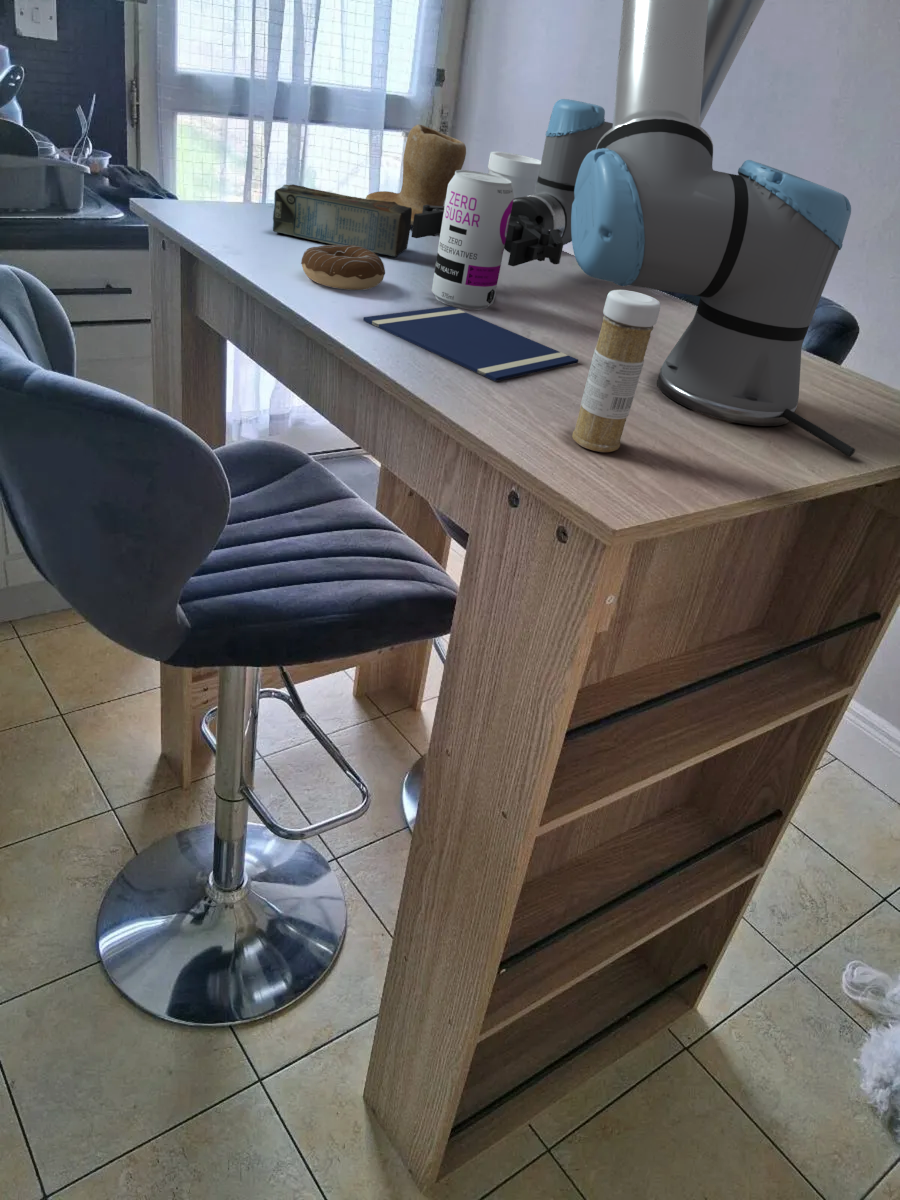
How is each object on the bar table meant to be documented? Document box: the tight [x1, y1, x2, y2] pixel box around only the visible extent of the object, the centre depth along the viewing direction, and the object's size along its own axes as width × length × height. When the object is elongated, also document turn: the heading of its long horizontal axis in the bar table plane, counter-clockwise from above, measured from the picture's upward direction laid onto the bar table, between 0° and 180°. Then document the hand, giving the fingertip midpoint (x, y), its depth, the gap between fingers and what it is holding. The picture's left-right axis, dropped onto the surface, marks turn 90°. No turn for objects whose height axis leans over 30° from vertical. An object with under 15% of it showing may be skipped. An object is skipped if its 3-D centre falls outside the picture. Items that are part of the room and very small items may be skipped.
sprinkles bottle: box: [571, 289, 661, 453], centre depth 79 cm, size 5×5×13 cm
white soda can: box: [431, 169, 514, 311], centre depth 113 cm, size 8×8×15 cm
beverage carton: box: [272, 183, 412, 258], centre depth 132 cm, size 8×19×7 cm, turn 81°
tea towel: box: [362, 305, 579, 382], centre depth 102 cm, size 20×15×1 cm
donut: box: [300, 244, 386, 291], centre depth 113 cm, size 11×11×4 cm
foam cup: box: [487, 151, 542, 198], centre depth 152 cm, size 10×9×13 cm
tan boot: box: [365, 124, 467, 226], centre depth 151 cm, size 15×12×15 cm
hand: (463, 240), depth 110 cm, fingers open, 13 cm apart
